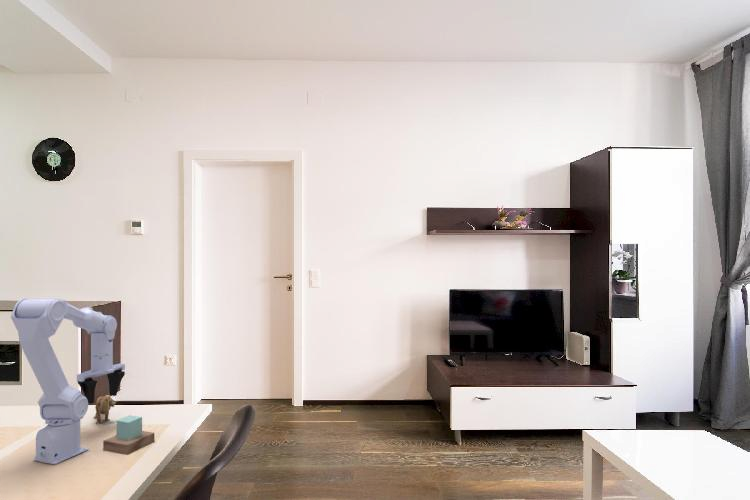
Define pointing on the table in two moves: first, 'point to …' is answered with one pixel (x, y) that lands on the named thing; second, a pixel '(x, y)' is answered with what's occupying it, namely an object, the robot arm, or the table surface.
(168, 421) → the table surface
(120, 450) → the walnut base block
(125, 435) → the teal brick
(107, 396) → the lion figurine
